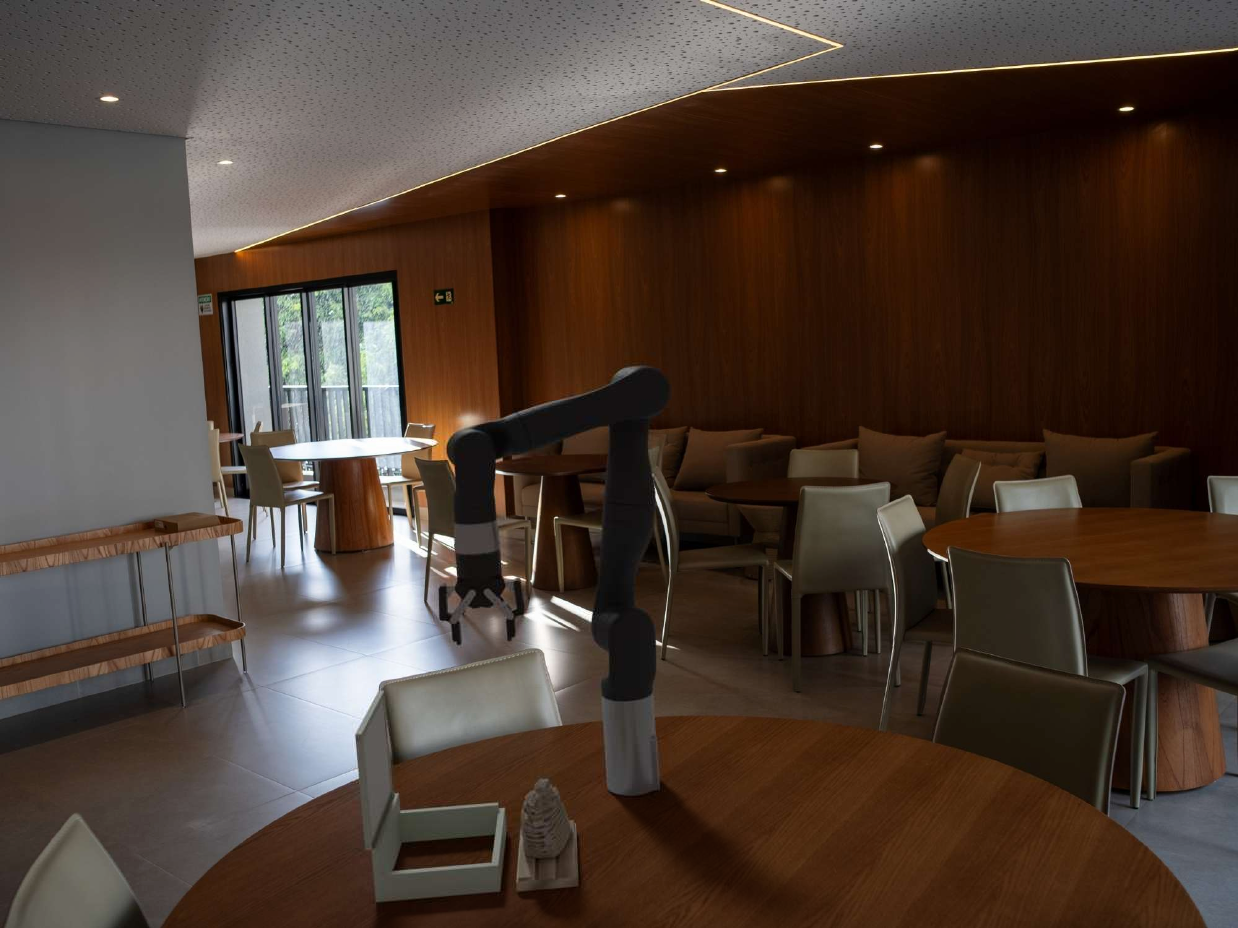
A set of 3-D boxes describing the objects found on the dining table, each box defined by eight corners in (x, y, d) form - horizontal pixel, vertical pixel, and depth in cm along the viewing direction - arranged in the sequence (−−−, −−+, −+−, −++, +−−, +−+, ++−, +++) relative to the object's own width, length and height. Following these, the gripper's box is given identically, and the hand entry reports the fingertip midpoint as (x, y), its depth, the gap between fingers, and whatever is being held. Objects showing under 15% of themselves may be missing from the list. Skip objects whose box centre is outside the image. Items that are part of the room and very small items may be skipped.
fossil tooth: (578, 832, 162) (553, 871, 147) (541, 829, 163) (512, 867, 148) (579, 762, 161) (553, 794, 147) (541, 759, 163) (512, 790, 148)
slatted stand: (576, 831, 164) (575, 819, 164) (578, 886, 147) (577, 872, 147) (521, 836, 163) (520, 824, 163) (517, 891, 146) (516, 877, 146)
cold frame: (506, 830, 166) (495, 681, 163) (500, 891, 147) (487, 723, 144) (391, 840, 165) (378, 690, 162) (370, 902, 146) (355, 734, 143)
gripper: (520, 540, 172) (527, 632, 174) (437, 546, 171) (444, 639, 173) (519, 549, 165) (526, 645, 166) (432, 555, 164) (439, 651, 166)
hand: (484, 641), depth 170 cm, fingers open, 8 cm apart
